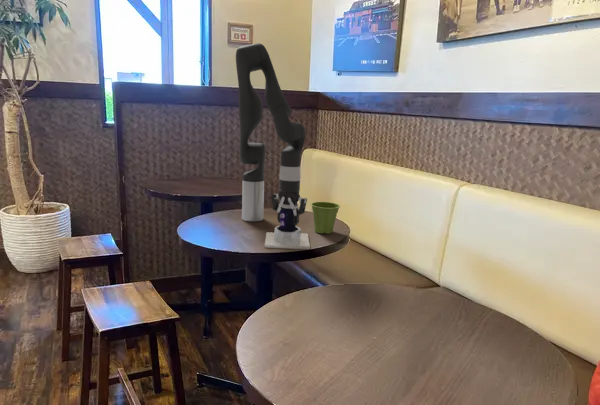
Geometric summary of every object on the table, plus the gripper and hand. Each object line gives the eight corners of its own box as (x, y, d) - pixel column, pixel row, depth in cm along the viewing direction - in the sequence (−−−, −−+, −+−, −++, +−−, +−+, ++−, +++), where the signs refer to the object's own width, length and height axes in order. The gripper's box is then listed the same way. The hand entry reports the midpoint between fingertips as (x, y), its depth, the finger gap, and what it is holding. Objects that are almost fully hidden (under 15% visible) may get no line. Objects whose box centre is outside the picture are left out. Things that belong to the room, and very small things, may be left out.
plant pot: (334, 237, 177) (336, 209, 174) (305, 233, 180) (306, 205, 178) (341, 230, 188) (343, 203, 185) (314, 226, 191) (315, 200, 189)
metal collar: (266, 234, 176) (266, 222, 175) (307, 236, 177) (308, 223, 176) (264, 247, 160) (265, 234, 159) (309, 249, 161) (310, 235, 160)
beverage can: (285, 232, 172) (287, 201, 169) (298, 235, 169) (299, 203, 166) (276, 235, 167) (277, 203, 165) (288, 238, 164) (290, 206, 162)
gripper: (267, 177, 164) (265, 222, 167) (302, 182, 157) (300, 229, 161) (278, 174, 170) (276, 218, 174) (312, 179, 164) (309, 224, 167)
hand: (287, 223), depth 167 cm, fingers closed on beverage can, 5 cm apart
